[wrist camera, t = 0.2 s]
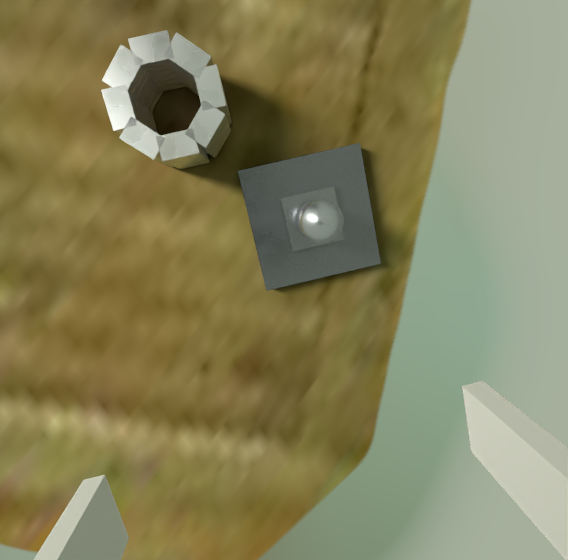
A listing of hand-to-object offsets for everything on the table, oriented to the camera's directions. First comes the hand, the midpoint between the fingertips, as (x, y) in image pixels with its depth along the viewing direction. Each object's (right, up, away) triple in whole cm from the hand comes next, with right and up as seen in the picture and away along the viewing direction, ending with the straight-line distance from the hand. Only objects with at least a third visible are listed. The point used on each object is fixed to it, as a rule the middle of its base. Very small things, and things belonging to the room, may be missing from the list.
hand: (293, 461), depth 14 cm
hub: (-10, +22, +23) cm, 33 cm away
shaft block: (+2, +13, +25) cm, 28 cm away
